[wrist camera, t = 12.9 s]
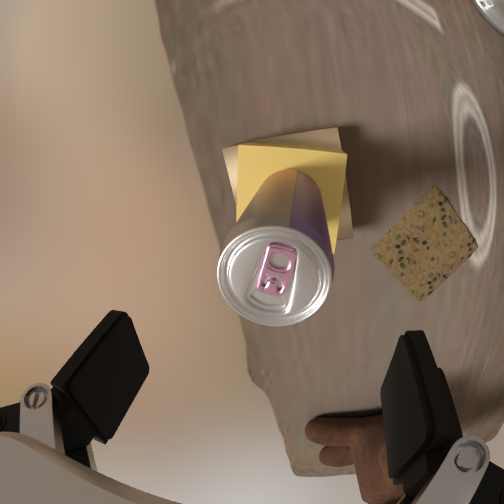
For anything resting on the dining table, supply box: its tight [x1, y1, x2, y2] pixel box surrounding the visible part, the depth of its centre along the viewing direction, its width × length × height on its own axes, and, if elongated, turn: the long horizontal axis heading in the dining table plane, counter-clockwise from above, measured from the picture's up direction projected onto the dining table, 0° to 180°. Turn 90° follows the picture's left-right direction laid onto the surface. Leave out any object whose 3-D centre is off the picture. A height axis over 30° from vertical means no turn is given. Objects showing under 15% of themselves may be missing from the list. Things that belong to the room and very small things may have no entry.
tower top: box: [237, 143, 347, 254], centre depth 29 cm, size 10×10×3 cm
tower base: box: [222, 127, 353, 241], centre depth 31 cm, size 12×12×3 cm
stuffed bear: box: [305, 414, 405, 504], centre depth 34 cm, size 29×23×35 cm
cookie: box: [370, 185, 478, 301], centre depth 32 cm, size 12×12×1 cm
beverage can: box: [217, 169, 334, 326], centre depth 21 cm, size 6×6×15 cm
